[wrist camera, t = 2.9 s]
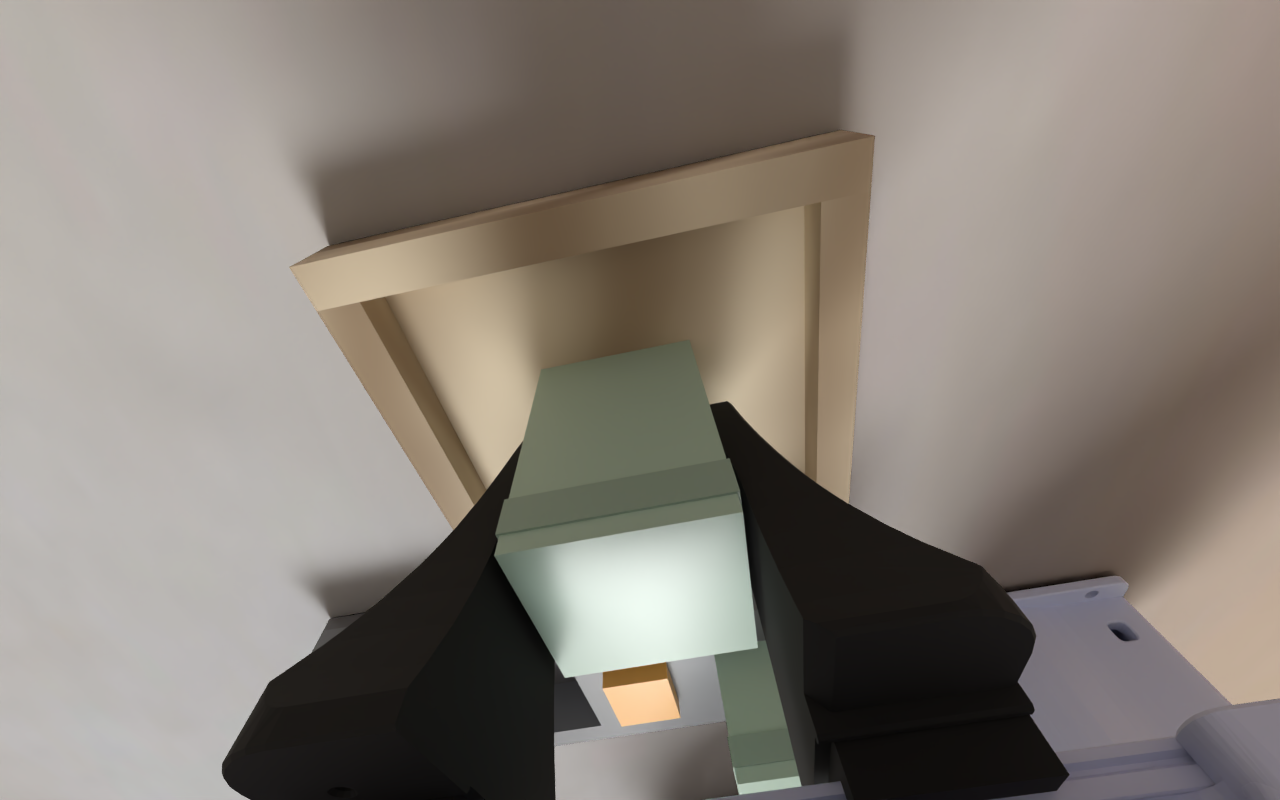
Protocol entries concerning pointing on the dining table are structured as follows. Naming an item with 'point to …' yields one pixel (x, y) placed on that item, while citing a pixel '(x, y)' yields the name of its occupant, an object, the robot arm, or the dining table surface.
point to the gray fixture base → (678, 706)
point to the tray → (617, 305)
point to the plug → (627, 517)
